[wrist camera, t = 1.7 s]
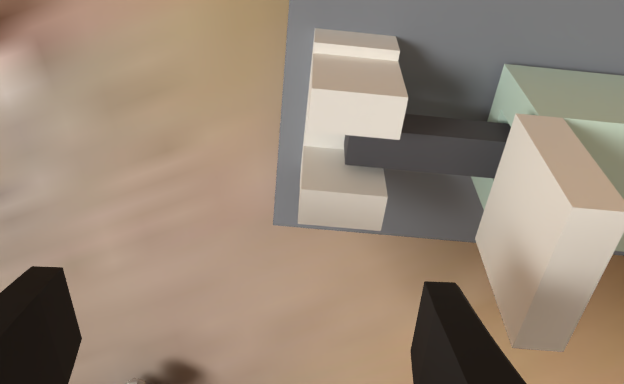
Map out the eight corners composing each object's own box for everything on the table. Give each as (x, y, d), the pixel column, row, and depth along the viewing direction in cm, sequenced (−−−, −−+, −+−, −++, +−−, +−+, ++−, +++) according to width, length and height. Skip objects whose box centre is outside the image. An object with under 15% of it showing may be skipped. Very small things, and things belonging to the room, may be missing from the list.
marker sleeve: (635, 76, 17) (803, 228, 11) (587, 187, 20) (705, 363, 14) (484, 61, 17) (572, 207, 11) (453, 174, 19) (512, 348, 13)
